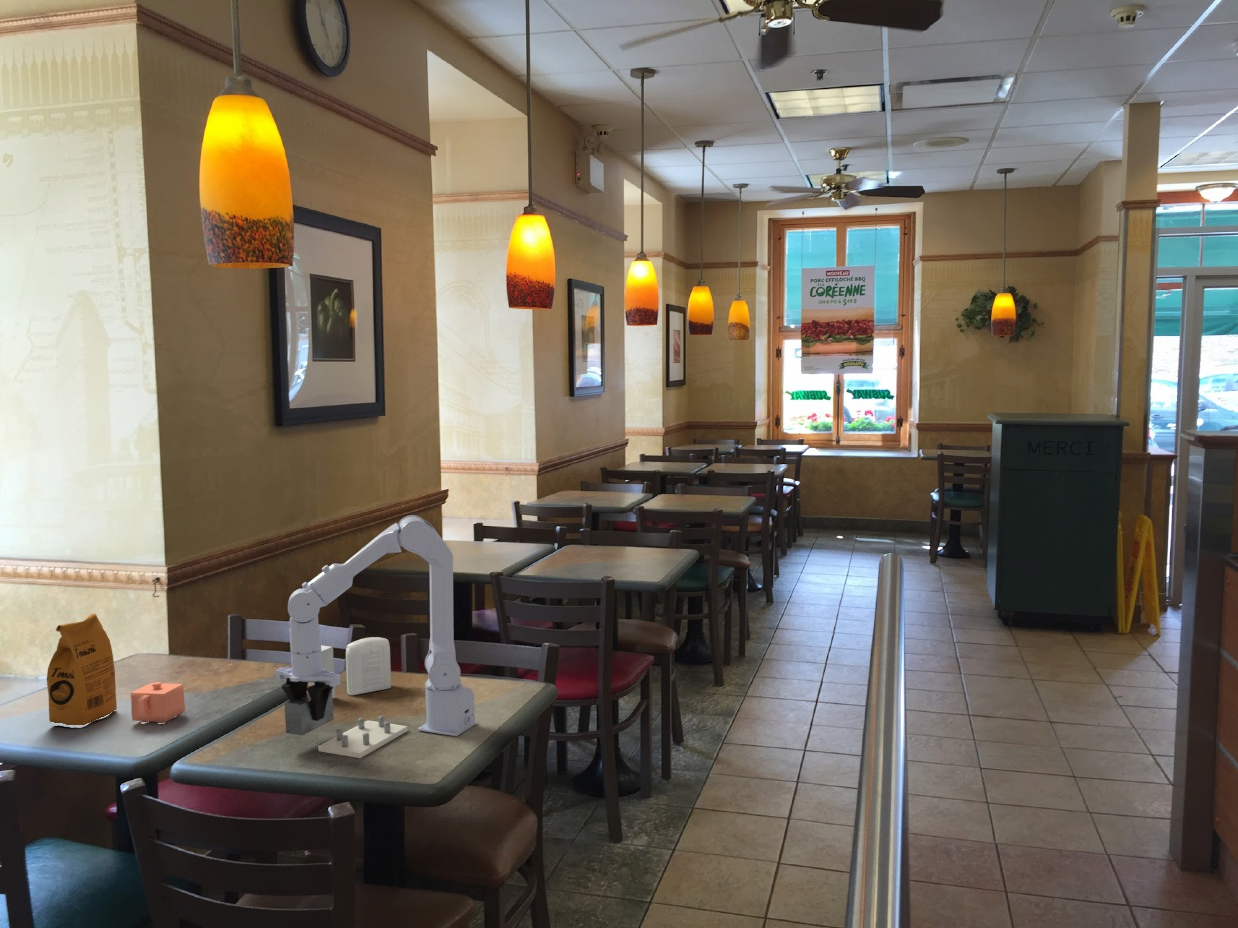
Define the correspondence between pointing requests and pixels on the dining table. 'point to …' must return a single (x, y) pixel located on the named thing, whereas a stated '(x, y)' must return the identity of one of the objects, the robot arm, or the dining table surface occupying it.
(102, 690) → the coffee package
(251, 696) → the dining table surface
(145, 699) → the pink cube teapot
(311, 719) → the block
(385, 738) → the pin tray
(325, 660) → the skincare box
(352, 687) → the photo printer
